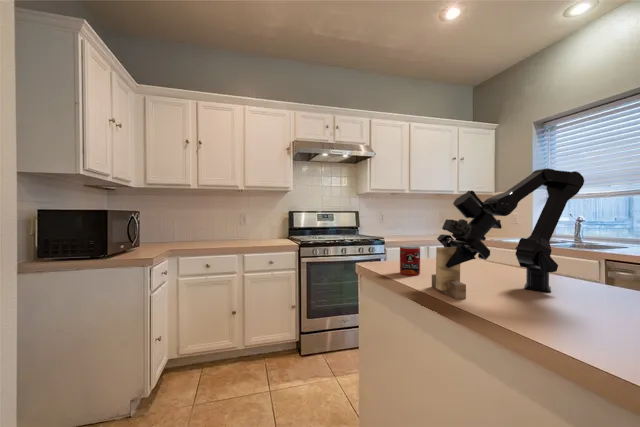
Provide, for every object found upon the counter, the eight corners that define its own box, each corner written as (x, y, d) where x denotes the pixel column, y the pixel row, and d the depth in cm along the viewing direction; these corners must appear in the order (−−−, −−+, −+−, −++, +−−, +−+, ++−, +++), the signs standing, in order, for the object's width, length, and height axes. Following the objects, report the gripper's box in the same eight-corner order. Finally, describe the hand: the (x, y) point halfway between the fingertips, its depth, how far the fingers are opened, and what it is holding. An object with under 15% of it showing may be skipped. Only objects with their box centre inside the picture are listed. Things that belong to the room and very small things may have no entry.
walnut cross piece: (431, 286, 93) (431, 274, 93) (440, 286, 93) (440, 274, 93) (456, 299, 80) (456, 284, 80) (465, 298, 80) (466, 284, 80)
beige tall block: (453, 287, 88) (454, 247, 88) (459, 290, 85) (460, 248, 85) (435, 287, 88) (436, 247, 87) (441, 290, 85) (441, 248, 84)
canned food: (399, 275, 110) (399, 246, 110) (400, 271, 117) (400, 244, 117) (420, 276, 107) (420, 247, 107) (419, 272, 115) (419, 245, 115)
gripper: (442, 210, 96) (411, 243, 95) (480, 210, 77) (442, 251, 76) (464, 233, 97) (433, 266, 96) (506, 238, 78) (469, 279, 77)
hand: (443, 265), depth 86 cm, fingers open, 4 cm apart
